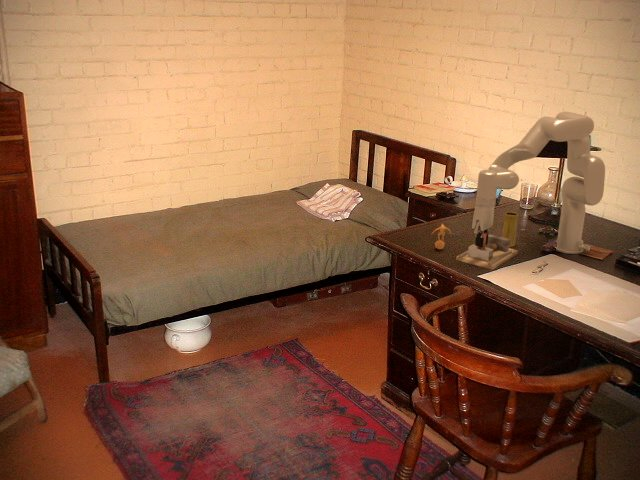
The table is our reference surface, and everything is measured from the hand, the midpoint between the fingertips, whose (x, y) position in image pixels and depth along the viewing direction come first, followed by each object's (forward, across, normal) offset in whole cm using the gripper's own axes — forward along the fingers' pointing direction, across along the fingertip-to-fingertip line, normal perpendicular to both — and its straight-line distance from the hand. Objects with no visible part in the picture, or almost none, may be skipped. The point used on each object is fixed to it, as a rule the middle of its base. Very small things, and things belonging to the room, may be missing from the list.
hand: (481, 244), depth 265 cm
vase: (+7, -27, 0) cm, 28 cm away
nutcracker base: (+7, -7, 0) cm, 10 cm away
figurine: (+7, -1, -19) cm, 20 cm away
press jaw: (+5, 0, 0) cm, 5 cm away
